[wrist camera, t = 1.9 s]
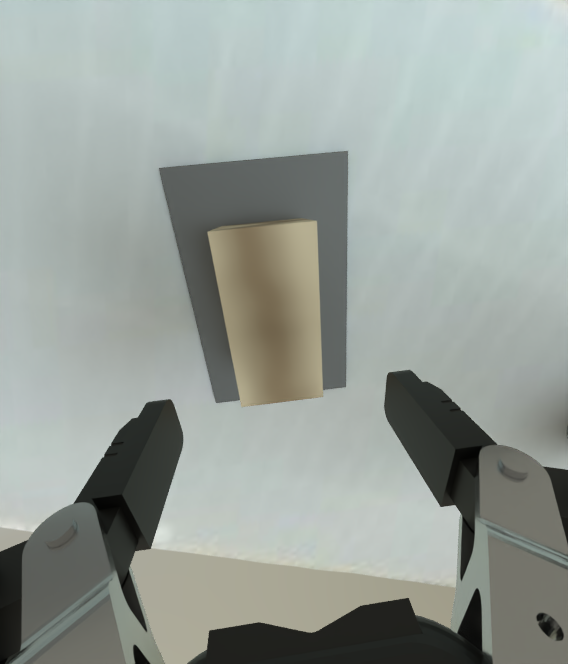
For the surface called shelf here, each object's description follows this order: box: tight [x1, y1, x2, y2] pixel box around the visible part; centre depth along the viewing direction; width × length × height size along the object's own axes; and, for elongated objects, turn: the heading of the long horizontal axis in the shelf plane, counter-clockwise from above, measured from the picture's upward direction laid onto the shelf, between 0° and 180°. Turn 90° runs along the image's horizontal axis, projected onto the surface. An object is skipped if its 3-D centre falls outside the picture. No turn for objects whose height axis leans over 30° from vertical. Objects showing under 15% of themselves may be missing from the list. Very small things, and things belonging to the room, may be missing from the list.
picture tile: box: [159, 151, 348, 403], centre depth 23 cm, size 13×20×1 cm, turn 5°
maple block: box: [207, 218, 323, 407], centre depth 20 cm, size 6×12×6 cm, turn 5°
